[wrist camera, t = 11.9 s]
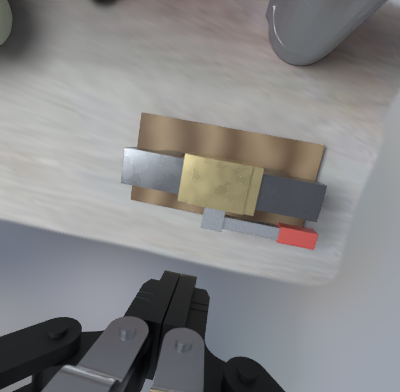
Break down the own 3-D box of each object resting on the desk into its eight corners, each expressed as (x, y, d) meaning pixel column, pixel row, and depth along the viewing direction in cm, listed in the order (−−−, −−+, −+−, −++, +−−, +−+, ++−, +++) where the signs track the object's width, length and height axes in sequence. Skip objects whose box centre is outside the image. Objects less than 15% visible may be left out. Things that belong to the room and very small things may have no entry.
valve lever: (200, 227, 31) (314, 250, 31) (204, 205, 31) (320, 228, 30) (202, 221, 34) (308, 242, 33) (206, 201, 33) (314, 222, 32)
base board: (133, 197, 43) (130, 199, 41) (144, 113, 40) (141, 112, 39) (298, 230, 41) (300, 234, 40) (321, 145, 38) (324, 145, 37)
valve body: (146, 177, 40) (116, 189, 30) (151, 142, 39) (122, 142, 29) (293, 206, 39) (318, 230, 28) (302, 170, 38) (332, 181, 27)
